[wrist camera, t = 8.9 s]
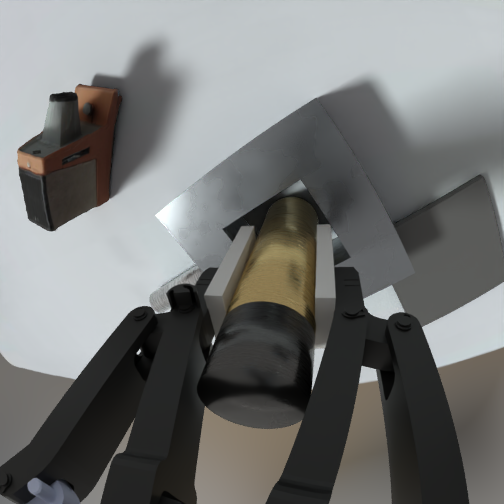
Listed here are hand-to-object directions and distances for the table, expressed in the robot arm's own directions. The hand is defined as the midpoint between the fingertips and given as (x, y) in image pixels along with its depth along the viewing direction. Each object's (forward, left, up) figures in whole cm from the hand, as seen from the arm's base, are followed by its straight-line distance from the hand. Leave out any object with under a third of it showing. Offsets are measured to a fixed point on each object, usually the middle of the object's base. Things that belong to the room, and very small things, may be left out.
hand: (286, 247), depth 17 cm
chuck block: (+4, 0, -4) cm, 6 cm away
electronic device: (+9, -14, -4) cm, 17 cm away
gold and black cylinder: (0, 0, -4) cm, 4 cm away
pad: (-9, +9, -4) cm, 13 cm away
